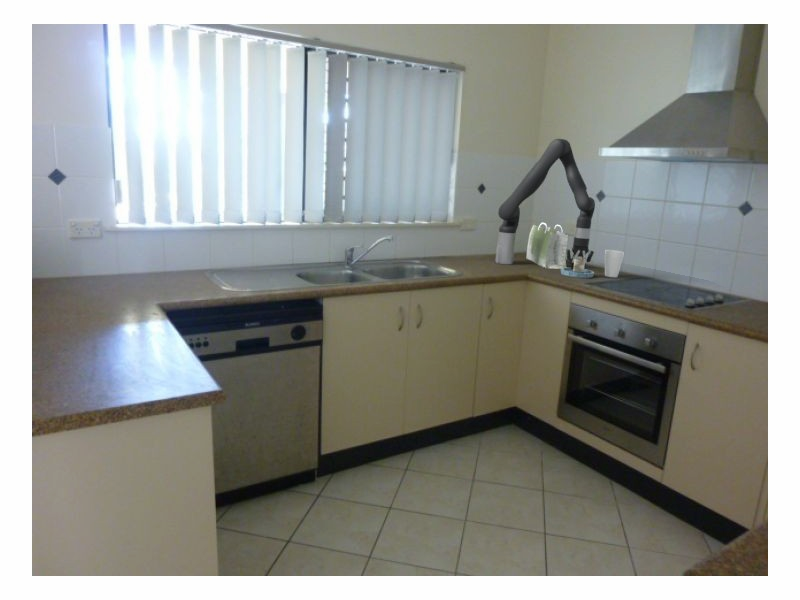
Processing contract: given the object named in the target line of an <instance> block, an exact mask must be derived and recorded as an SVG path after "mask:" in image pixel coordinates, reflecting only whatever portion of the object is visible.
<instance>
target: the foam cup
mask: <svg viewBox="0 0 800 600" xmlns="http://www.w3.org/2000/svg"><path fill="white" fill-rule="evenodd" d="M624 257H625V251H623V250H616V249H605V250H604V276H605V277H609V278H618V276H619V273H620V269H621V266H622V263H623V259H624Z"/></svg>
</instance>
